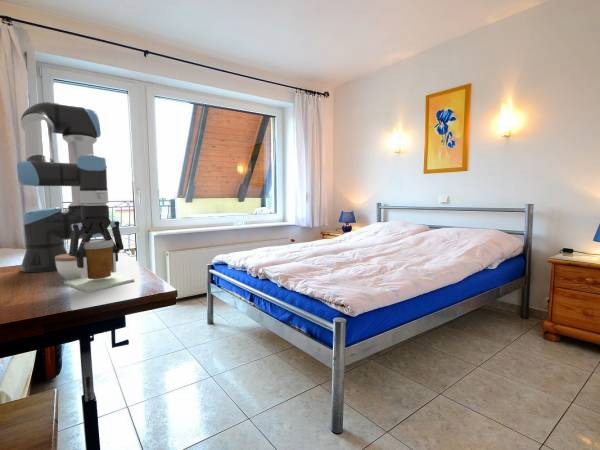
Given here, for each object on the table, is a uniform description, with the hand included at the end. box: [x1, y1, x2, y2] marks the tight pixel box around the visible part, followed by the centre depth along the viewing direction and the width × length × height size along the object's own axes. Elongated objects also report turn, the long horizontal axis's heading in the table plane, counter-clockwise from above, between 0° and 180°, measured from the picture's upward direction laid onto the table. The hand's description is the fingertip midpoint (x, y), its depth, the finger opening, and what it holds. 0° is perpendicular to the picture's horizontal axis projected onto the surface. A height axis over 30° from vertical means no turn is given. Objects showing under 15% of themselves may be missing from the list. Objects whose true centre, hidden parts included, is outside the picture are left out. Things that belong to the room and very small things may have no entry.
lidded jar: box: [55, 252, 83, 280], centre depth 111 cm, size 11×11×9 cm
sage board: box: [63, 272, 135, 293], centre depth 104 cm, size 16×14×1 cm
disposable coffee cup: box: [80, 238, 115, 279], centre depth 103 cm, size 10×10×12 cm
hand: (99, 274), depth 104 cm, fingers closed on disposable coffee cup, 8 cm apart
